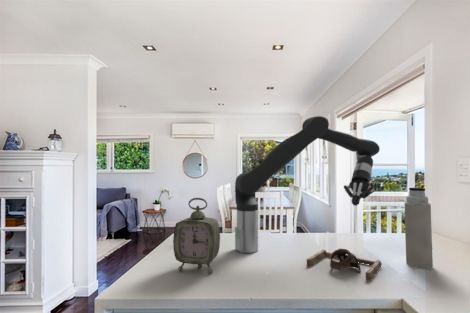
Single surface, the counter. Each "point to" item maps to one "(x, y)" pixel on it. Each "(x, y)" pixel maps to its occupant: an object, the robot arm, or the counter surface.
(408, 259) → the thermos bottle
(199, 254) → the tabletop clock
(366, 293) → the counter surface
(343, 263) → the pottery mug
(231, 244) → the counter surface
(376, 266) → the walnut mug dock
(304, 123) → the robot arm
